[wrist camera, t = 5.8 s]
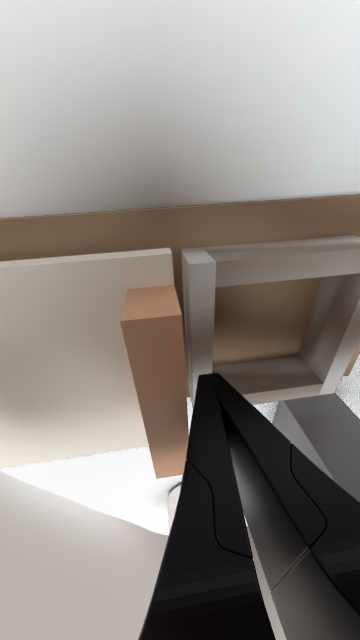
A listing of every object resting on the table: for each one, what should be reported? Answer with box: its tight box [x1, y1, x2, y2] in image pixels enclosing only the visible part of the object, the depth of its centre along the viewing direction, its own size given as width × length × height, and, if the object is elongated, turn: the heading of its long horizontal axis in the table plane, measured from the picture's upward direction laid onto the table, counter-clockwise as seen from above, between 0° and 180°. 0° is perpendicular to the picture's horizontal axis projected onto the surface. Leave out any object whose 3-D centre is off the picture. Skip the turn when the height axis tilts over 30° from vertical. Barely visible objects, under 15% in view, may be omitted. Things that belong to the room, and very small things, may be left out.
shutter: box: [0, 248, 189, 478], centre depth 8 cm, size 10×10×3 cm
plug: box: [272, 393, 360, 502], centre depth 16 cm, size 5×5×8 cm
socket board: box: [0, 194, 360, 407], centre depth 11 cm, size 12×24×4 cm, turn 93°
